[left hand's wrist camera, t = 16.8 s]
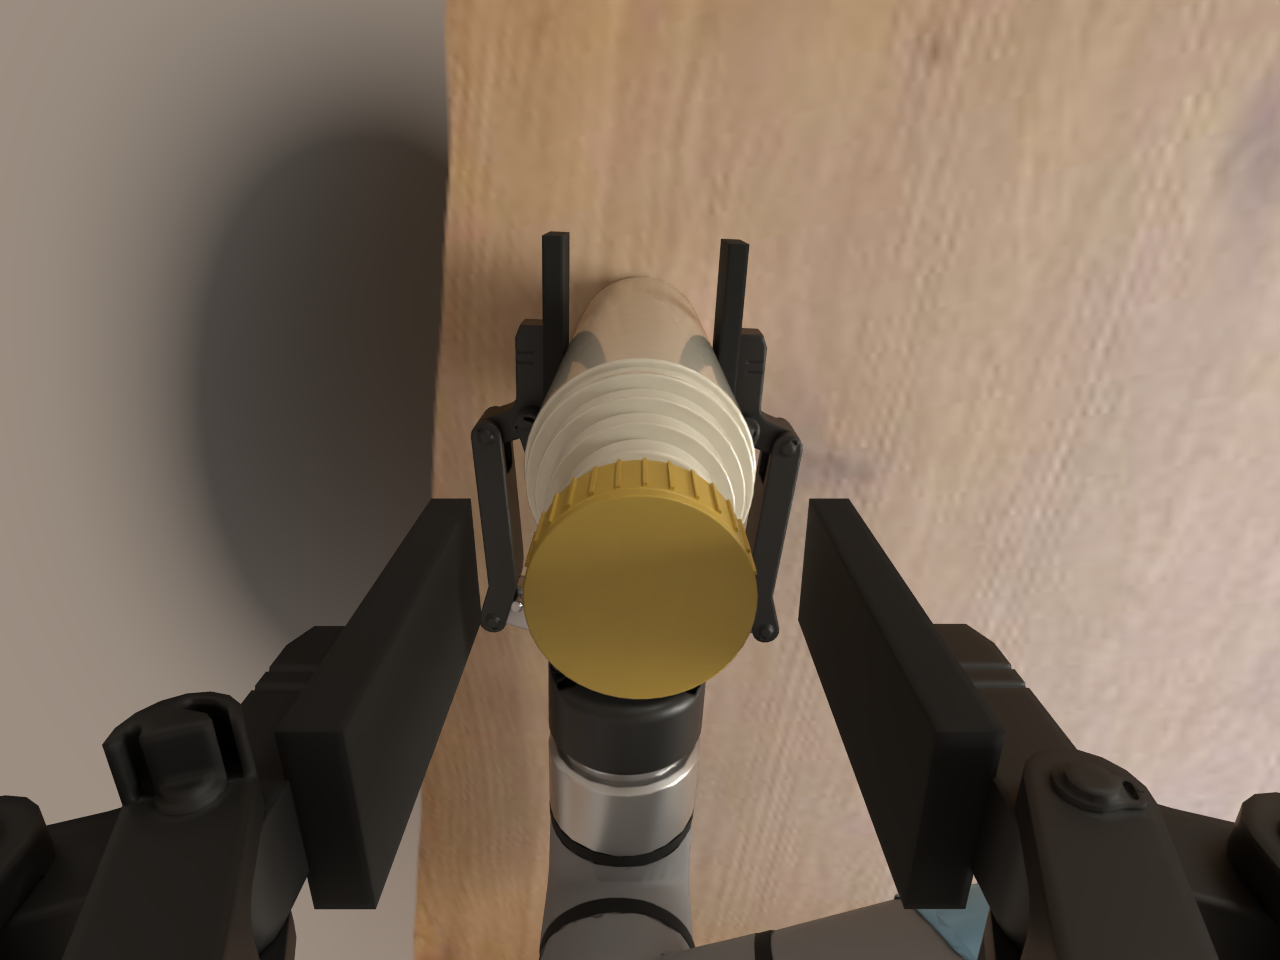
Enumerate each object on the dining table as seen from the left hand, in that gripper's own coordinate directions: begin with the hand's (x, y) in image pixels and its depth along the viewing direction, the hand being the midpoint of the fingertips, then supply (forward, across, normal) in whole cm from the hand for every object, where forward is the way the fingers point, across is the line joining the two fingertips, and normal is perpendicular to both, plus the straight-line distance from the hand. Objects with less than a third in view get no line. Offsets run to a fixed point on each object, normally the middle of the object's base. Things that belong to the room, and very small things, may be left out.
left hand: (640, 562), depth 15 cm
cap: (-1, 0, 0) cm, 1 cm away
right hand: (+16, 0, -5) cm, 17 cm away
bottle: (+23, 0, 0) cm, 23 cm away
